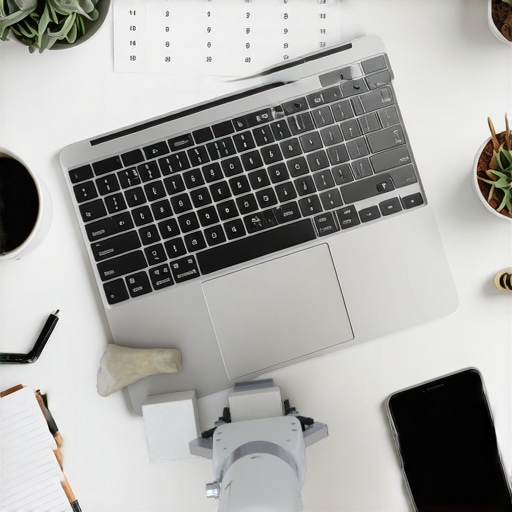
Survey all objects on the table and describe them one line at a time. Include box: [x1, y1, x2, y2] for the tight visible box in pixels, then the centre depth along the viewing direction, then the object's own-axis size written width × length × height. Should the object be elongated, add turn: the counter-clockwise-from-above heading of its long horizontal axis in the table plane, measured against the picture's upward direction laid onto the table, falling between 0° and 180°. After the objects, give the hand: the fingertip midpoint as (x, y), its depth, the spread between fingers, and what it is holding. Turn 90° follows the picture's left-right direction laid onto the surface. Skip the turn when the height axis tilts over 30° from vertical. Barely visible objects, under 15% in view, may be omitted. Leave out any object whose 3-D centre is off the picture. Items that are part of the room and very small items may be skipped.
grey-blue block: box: [233, 378, 275, 392], centre depth 72 cm, size 8×5×3 cm, turn 8°
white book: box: [227, 386, 284, 423], centre depth 70 cm, size 8×6×2 cm
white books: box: [141, 389, 202, 464], centre depth 72 cm, size 8×6×4 cm
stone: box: [96, 343, 184, 398], centre depth 71 cm, size 11×6×5 cm, turn 108°
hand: (257, 414), depth 72 cm, fingers open, 7 cm apart
